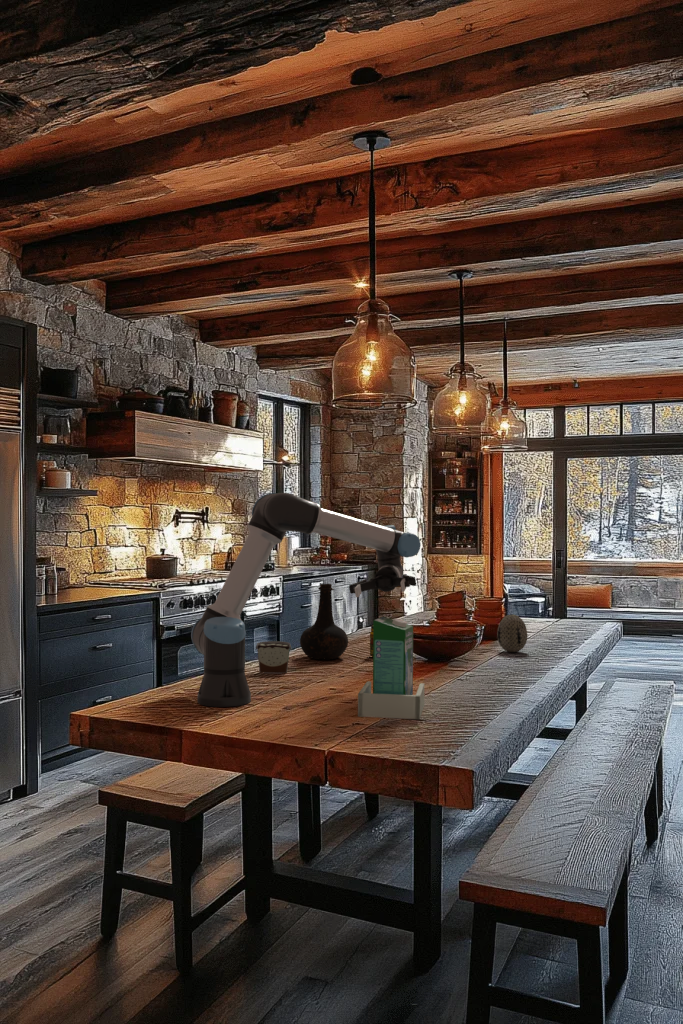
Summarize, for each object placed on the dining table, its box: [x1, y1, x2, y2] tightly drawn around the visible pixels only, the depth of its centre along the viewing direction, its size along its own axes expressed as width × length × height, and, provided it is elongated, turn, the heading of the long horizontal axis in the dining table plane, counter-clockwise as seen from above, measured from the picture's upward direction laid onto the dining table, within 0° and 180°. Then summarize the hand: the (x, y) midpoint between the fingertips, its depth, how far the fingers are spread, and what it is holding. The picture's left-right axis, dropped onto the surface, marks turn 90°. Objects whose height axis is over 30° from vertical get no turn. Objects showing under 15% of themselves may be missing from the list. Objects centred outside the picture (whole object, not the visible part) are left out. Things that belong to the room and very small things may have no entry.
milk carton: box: [372, 616, 414, 695], centre depth 229 cm, size 9×9×25 cm
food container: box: [255, 640, 292, 674], centre depth 283 cm, size 12×6×10 cm, turn 84°
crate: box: [357, 680, 425, 720], centre depth 227 cm, size 17×16×6 cm
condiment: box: [369, 624, 373, 657], centre depth 315 cm, size 7×8×12 cm
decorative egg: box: [496, 613, 528, 653], centre depth 327 cm, size 12×12×15 cm
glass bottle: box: [299, 583, 349, 661], centre depth 311 cm, size 18×18×28 cm
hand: (379, 589), depth 241 cm, fingers open, 13 cm apart
